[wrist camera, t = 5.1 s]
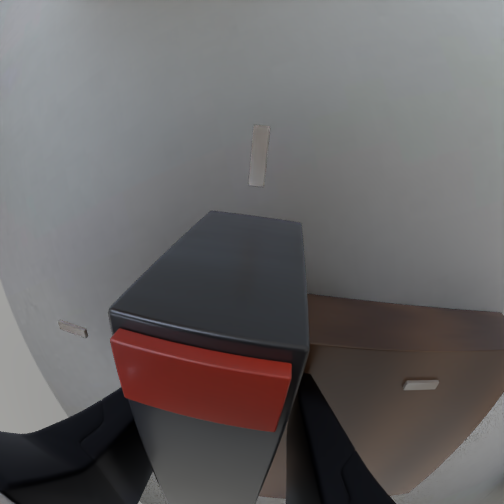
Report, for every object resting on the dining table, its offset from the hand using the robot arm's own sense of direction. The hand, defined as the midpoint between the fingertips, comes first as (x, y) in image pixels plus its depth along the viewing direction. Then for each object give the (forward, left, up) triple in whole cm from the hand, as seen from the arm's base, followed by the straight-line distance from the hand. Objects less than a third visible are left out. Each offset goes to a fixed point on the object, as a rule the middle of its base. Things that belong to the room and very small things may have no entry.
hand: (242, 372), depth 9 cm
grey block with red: (0, 0, 0) cm, 0 cm away
